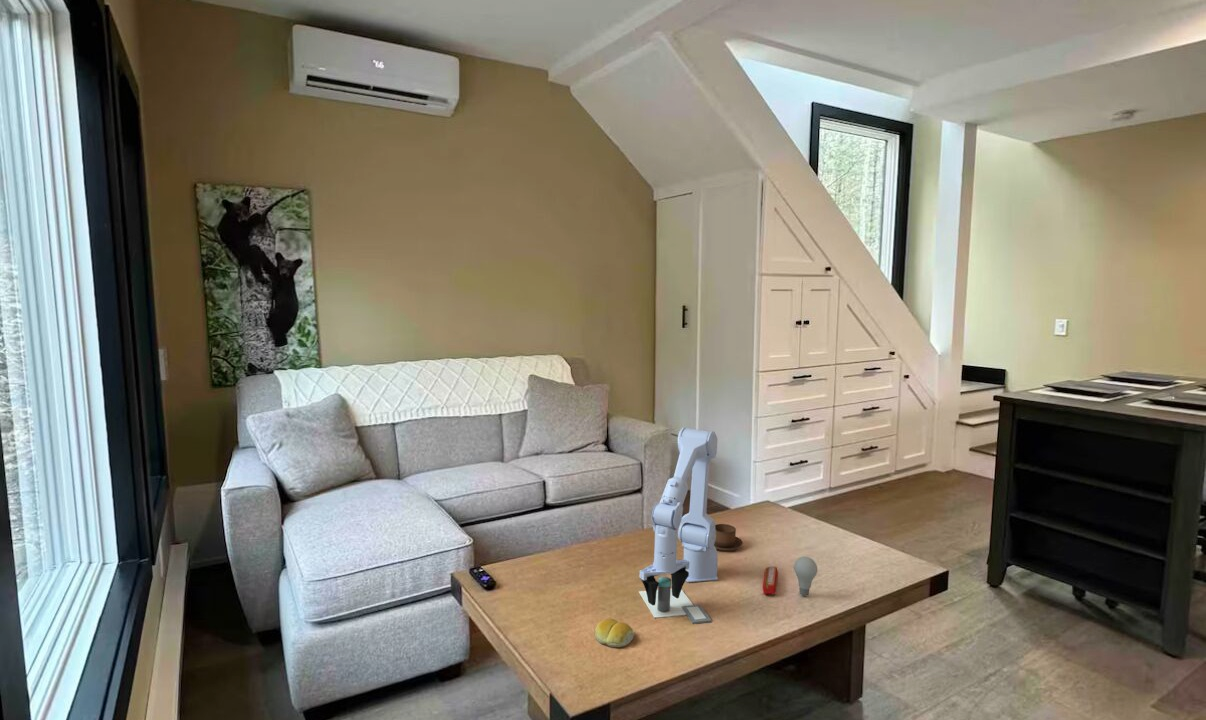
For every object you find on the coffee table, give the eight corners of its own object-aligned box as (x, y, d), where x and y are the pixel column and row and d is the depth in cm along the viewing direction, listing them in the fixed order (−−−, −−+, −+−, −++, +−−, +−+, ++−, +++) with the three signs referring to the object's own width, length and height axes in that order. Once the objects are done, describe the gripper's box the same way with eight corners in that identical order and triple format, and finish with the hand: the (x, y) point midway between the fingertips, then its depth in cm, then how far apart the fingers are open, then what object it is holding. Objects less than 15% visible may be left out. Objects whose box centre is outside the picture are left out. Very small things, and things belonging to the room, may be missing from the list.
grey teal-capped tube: (666, 605, 167) (667, 576, 166) (672, 611, 164) (673, 581, 163) (654, 607, 166) (655, 577, 165) (660, 613, 162) (661, 583, 161)
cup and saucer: (704, 537, 213) (705, 520, 213) (740, 540, 212) (741, 522, 211) (705, 552, 202) (706, 533, 201) (743, 555, 200) (744, 536, 199)
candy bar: (765, 572, 189) (765, 562, 188) (778, 574, 188) (778, 564, 187) (761, 597, 173) (762, 586, 173) (775, 599, 172) (776, 588, 172)
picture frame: (699, 606, 167) (699, 604, 167) (711, 622, 159) (711, 619, 159) (681, 608, 166) (681, 605, 166) (692, 624, 158) (692, 621, 158)
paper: (680, 588, 177) (680, 587, 177) (699, 613, 163) (699, 612, 163) (638, 591, 174) (638, 591, 174) (654, 618, 160) (654, 617, 160)
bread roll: (606, 625, 157) (606, 610, 156) (637, 636, 152) (638, 621, 152) (587, 640, 150) (587, 624, 150) (619, 653, 145) (620, 636, 145)
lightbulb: (815, 593, 176) (818, 555, 175) (815, 603, 170) (818, 564, 169) (792, 589, 178) (795, 551, 177) (791, 599, 172) (794, 560, 171)
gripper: (678, 538, 170) (676, 587, 171) (633, 549, 162) (631, 599, 164) (695, 548, 164) (693, 598, 165) (649, 559, 156) (647, 612, 158)
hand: (663, 600), depth 164 cm, fingers open, 7 cm apart
